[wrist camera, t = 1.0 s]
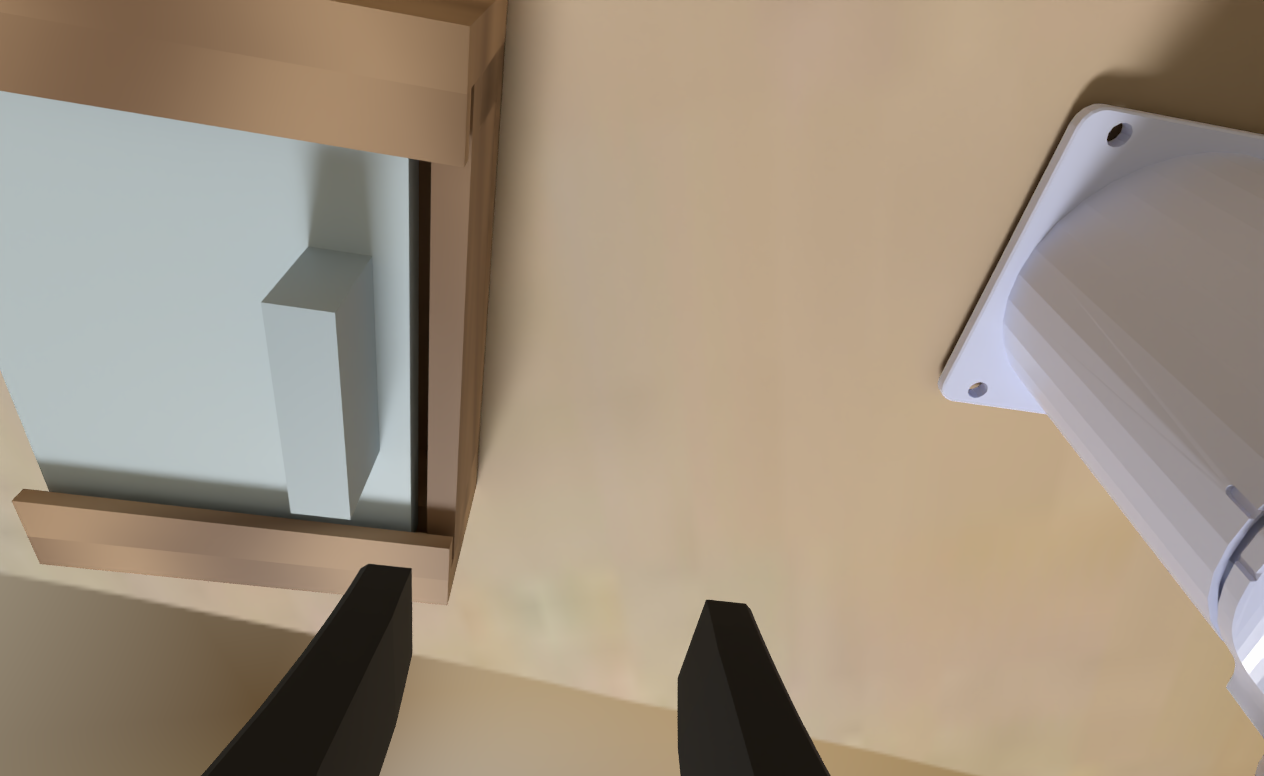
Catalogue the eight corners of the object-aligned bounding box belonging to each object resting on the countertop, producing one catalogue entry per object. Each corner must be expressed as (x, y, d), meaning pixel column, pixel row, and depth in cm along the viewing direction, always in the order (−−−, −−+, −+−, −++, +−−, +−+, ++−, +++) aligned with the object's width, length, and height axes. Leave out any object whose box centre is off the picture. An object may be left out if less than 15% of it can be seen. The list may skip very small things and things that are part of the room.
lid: (418, 79, 13) (370, 128, 10) (418, 524, 19) (388, 618, 17) (-111, -15, 12) (-299, 16, 10) (76, 485, 18) (-7, 579, 16)
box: (508, -13, 15) (469, 25, 11) (475, 486, 23) (447, 605, 19) (-25, -116, 14) (-264, -110, 10) (139, 446, 22) (40, 564, 18)
